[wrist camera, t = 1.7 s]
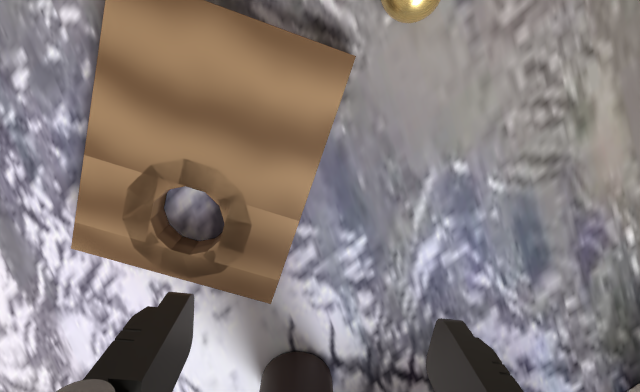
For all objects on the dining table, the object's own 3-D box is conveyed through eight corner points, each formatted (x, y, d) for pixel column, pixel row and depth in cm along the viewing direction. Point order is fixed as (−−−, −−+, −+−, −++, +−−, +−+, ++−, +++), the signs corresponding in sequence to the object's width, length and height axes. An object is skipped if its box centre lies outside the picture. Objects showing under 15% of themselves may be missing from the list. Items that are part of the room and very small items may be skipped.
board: (130, -23, 24) (110, -35, 21) (352, 58, 25) (355, 56, 23) (90, 235, 29) (71, 248, 27) (274, 287, 31) (270, 304, 29)
